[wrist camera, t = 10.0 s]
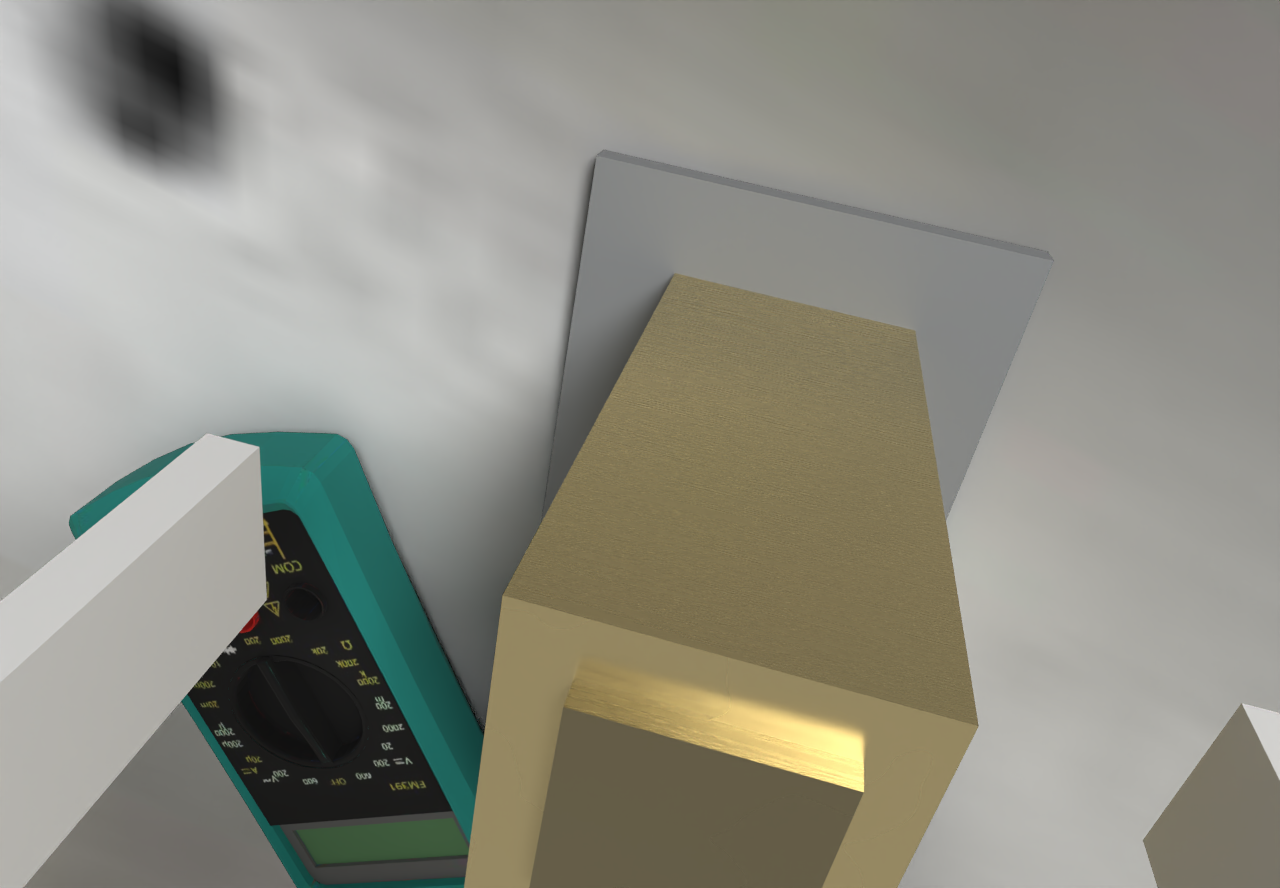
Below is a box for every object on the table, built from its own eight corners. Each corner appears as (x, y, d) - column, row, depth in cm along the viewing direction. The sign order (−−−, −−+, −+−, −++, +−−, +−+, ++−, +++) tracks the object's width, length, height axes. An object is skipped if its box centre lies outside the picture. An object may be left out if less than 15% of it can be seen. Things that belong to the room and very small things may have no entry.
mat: (603, 149, 19) (596, 155, 18) (1047, 251, 18) (1053, 261, 18) (548, 511, 23) (540, 524, 23) (903, 605, 23) (904, 620, 22)
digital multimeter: (347, 400, 23) (285, 458, 20) (549, 833, 29) (521, 920, 26) (111, 453, 25) (28, 511, 22) (345, 846, 31) (300, 928, 28)
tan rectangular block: (674, 273, 19) (489, 618, 9) (914, 330, 19) (983, 756, 9) (633, 475, 22) (452, 916, 12) (844, 530, 21) (837, 1034, 12)
